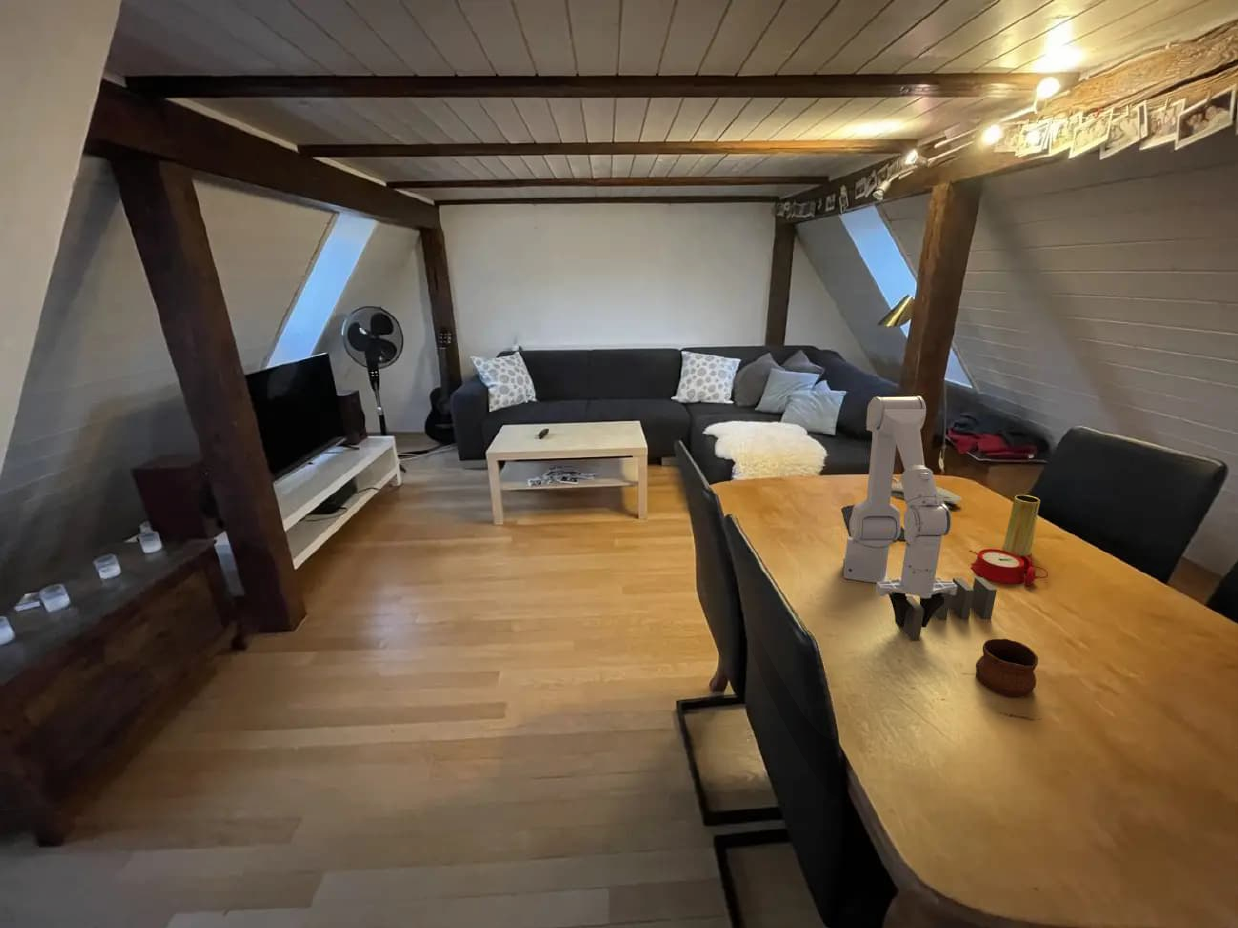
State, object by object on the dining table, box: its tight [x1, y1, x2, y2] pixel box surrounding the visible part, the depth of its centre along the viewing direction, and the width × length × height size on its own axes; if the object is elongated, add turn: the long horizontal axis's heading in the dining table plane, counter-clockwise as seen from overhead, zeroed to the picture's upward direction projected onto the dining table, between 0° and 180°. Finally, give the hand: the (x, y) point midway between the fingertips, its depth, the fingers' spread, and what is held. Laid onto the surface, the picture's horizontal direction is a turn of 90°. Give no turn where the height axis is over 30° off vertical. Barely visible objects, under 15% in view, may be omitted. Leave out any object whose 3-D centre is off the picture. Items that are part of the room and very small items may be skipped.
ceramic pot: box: [975, 638, 1041, 721], centre depth 99 cm, size 18×18×7 cm
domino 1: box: [933, 577, 951, 621], centre depth 119 cm, size 2×5×7 cm, turn 179°
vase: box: [1001, 494, 1041, 557], centre depth 143 cm, size 6×6×14 cm
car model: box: [891, 476, 963, 510], centre depth 179 cm, size 11×24×5 cm, turn 41°
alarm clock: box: [969, 548, 1049, 586], centre depth 134 cm, size 10×6×15 cm
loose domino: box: [901, 595, 924, 642], centre depth 113 cm, size 2×5×7 cm, turn 179°
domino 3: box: [971, 576, 998, 621], centre depth 119 cm, size 2×5×7 cm, turn 179°
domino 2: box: [949, 577, 974, 621], centre depth 119 cm, size 2×5×7 cm, turn 179°
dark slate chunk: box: [841, 504, 906, 542], centre depth 162 cm, size 15×22×5 cm
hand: (910, 624), depth 114 cm, fingers open, 4 cm apart
